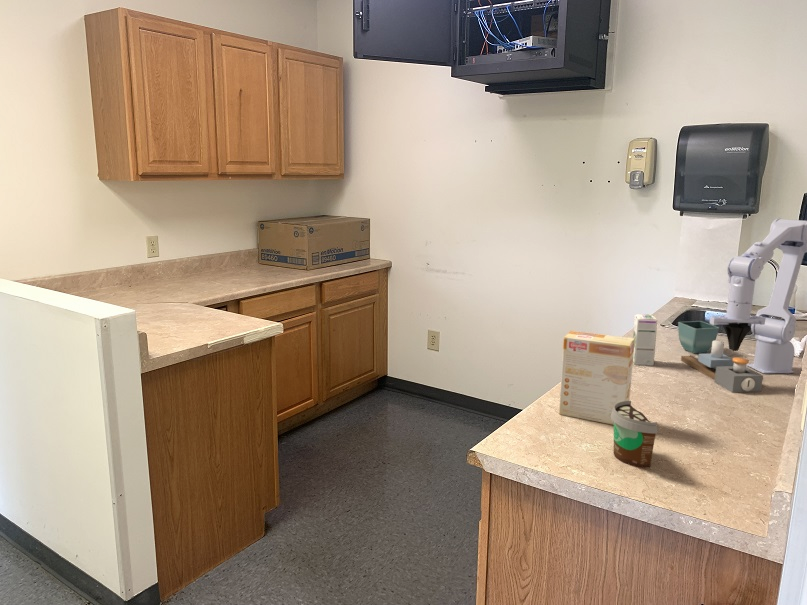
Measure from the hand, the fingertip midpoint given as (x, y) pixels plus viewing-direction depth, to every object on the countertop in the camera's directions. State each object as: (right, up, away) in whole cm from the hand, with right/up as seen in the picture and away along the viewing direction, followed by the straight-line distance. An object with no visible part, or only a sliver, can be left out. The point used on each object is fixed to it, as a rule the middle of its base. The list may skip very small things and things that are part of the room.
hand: (733, 349), depth 165 cm
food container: (-45, -19, -41) cm, 64 cm away
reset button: (0, -6, -2) cm, 6 cm away
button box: (0, -10, -1) cm, 10 cm away
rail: (-1, -7, +13) cm, 14 cm away
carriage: (-1, -5, +8) cm, 10 cm away
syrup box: (-18, -6, +19) cm, 26 cm away
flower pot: (+4, -3, +31) cm, 31 cm away
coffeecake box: (-45, -14, -21) cm, 52 cm away
